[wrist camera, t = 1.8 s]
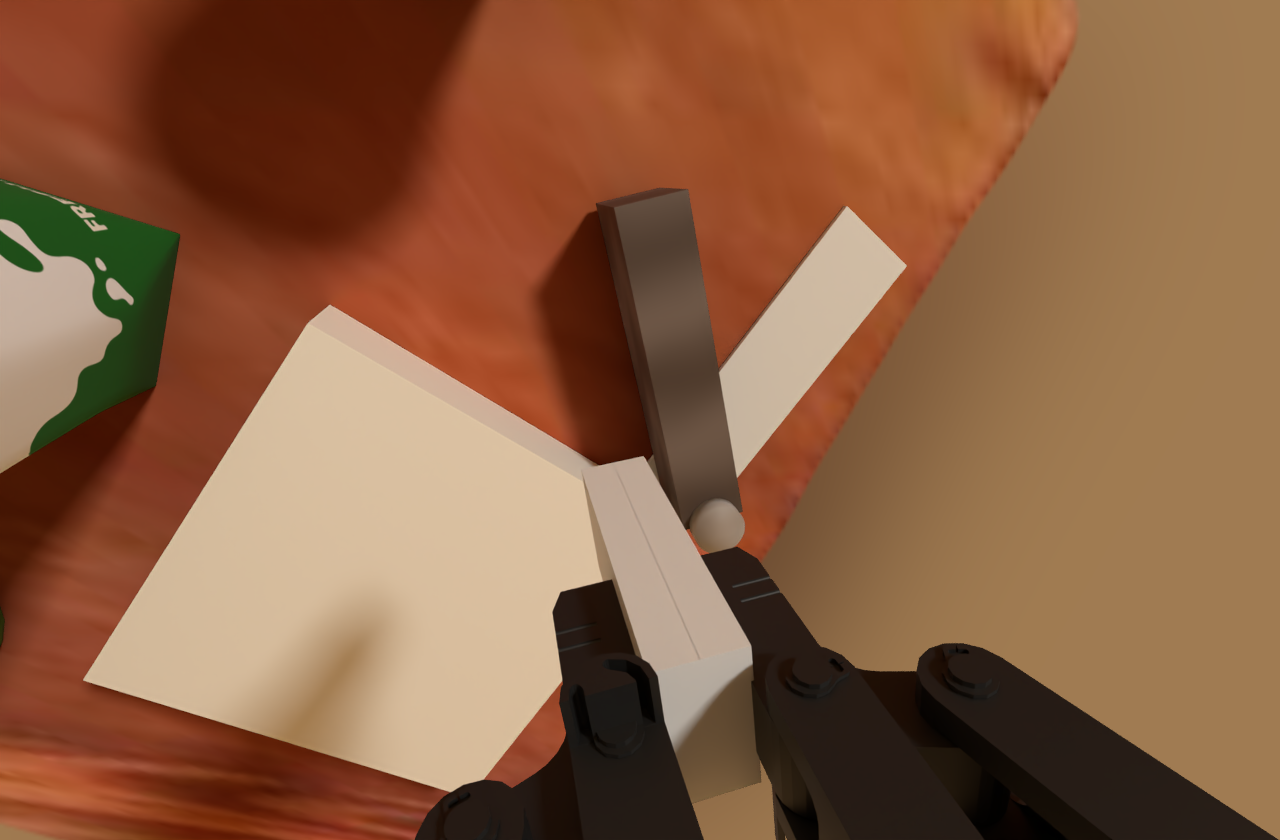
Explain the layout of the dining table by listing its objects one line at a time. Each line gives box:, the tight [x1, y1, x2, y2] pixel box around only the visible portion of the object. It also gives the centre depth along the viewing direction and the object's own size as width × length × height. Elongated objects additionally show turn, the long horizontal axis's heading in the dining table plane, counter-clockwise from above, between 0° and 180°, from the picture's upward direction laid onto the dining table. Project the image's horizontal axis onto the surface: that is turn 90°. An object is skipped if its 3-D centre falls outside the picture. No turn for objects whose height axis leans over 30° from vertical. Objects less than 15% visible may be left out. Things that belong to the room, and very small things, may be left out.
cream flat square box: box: [83, 305, 603, 792], centre depth 32 cm, size 20×20×4 cm
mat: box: [647, 206, 907, 484], centre depth 35 cm, size 5×18×1 cm, turn 143°
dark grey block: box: [596, 188, 745, 553], centre depth 31 cm, size 17×3×6 cm, turn 13°
